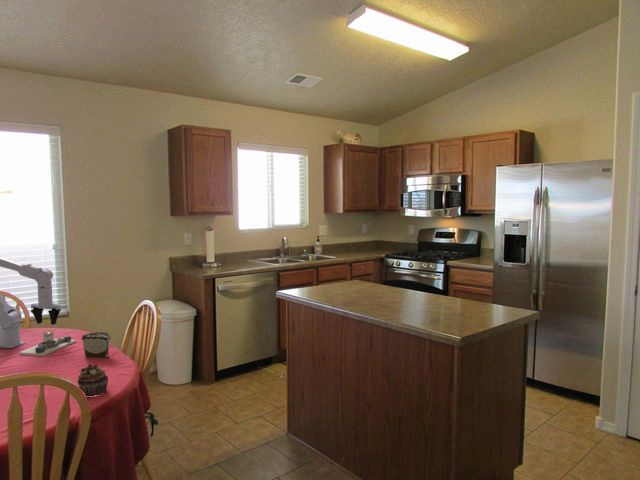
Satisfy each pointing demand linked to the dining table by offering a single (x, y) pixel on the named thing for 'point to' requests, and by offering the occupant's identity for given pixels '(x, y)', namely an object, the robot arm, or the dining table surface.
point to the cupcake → (92, 380)
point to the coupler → (48, 338)
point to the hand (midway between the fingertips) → (46, 323)
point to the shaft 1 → (41, 348)
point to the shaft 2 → (64, 339)
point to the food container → (96, 345)
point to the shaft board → (50, 348)
